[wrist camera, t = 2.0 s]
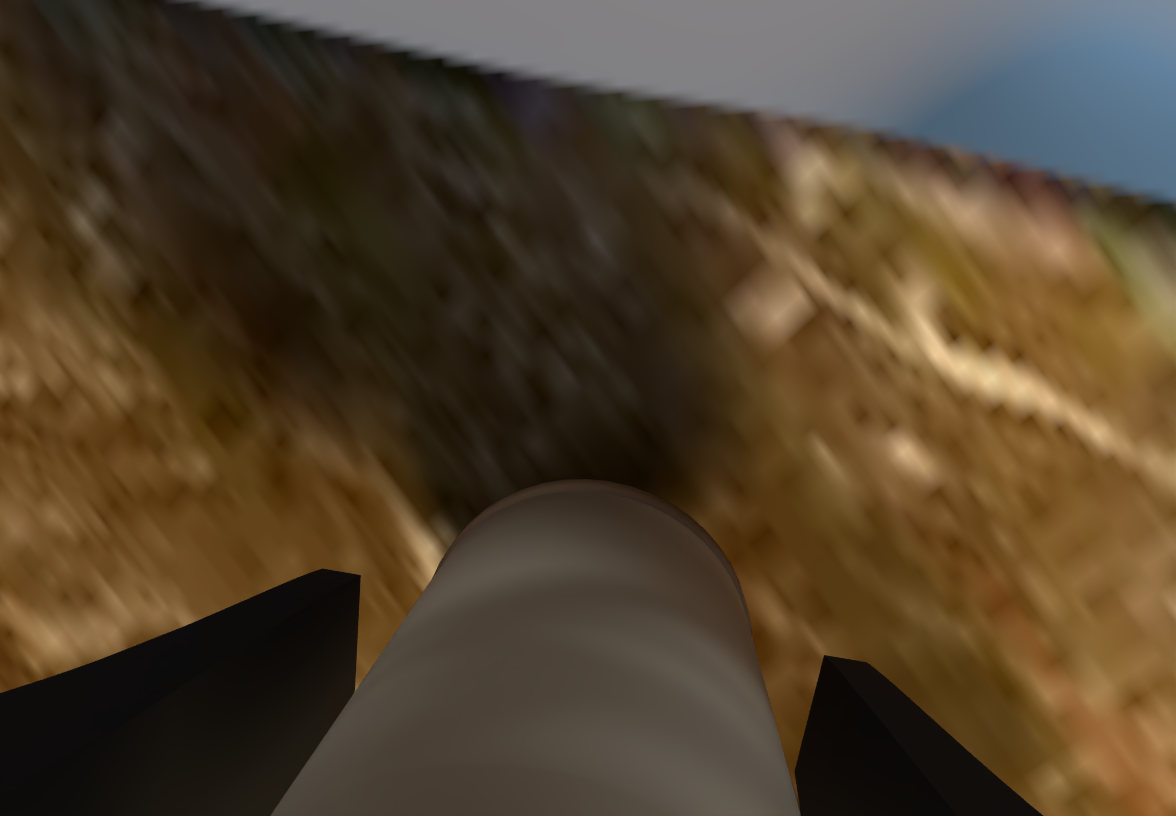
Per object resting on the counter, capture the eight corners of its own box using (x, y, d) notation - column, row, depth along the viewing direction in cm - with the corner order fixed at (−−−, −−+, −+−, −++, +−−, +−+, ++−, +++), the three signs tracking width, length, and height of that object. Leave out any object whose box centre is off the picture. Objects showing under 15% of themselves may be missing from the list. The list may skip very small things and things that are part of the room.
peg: (753, 461, 12) (951, 840, 4) (705, 699, 13) (785, 1329, 5) (481, 419, 12) (188, 697, 4) (458, 655, 13) (200, 1192, 6)
